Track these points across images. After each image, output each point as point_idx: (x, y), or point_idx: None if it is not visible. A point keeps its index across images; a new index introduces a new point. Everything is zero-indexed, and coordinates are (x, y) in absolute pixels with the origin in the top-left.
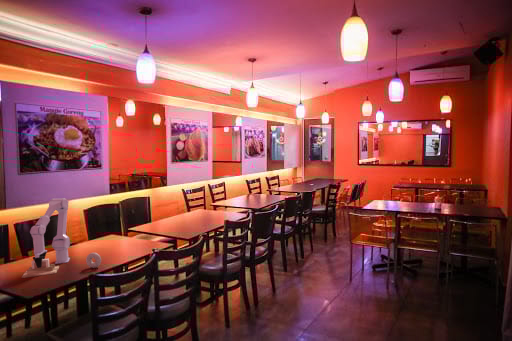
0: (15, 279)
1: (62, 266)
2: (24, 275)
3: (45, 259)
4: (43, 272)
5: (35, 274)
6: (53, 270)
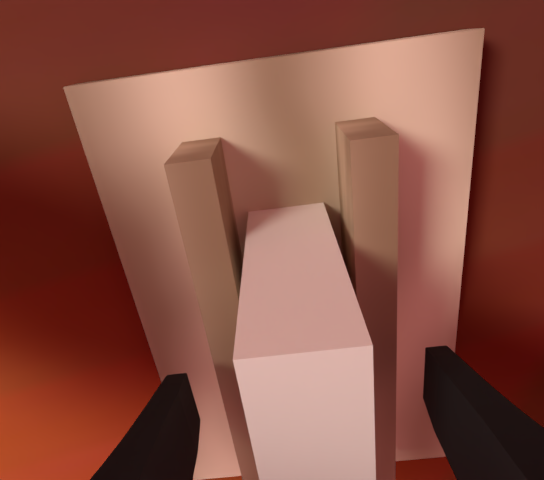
0: (447, 476)
1: (37, 21)
2: (418, 443)
3: (321, 413)
4: (408, 255)
5: (451, 337)
6: (369, 106)
